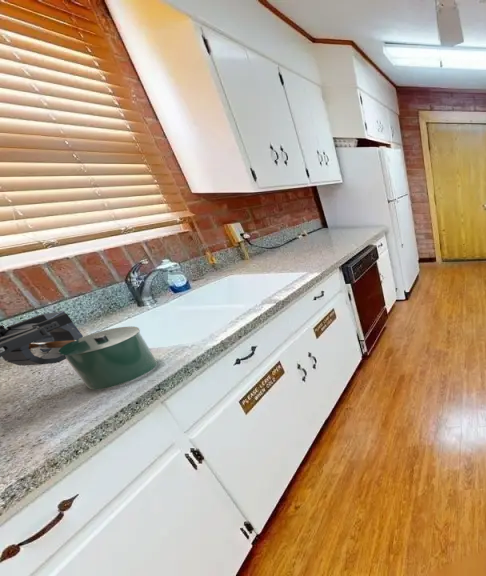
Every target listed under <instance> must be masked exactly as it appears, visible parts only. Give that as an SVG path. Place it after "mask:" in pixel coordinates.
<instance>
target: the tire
mask: <svg viewBox="0 0 486 576" xmlns="http://www.w3.org/2000/svg"><path fill="white" fill-rule="evenodd" d="M35 324H38V323H32V324H24V325H21V326H18V327H16V328H13V329H11V330H9V331H8V332H7V333H6V334H5V335H4V336H7V335H10V334H13V333H16V332H19V331H22V330H25V329H28V328H31V327H32V325H35ZM49 333H50V334H51V335H52V337H53V338H54V341H69V340H77V339H79V338H80V337H78V336H80V335H79V334H78V333H77V331H76V330H75V328H73V327H71V326H69V325H64V326H61V327H59V328H56V329H54V330H52V331H49ZM4 336H3V337H4ZM60 349H61V348H52V349H51V350H50V351H48V352H47V354H44V355H42V356H36V355H35V354H34V353H33V352H32V350H29V344H27V345H25V346H22V347H20V348H18V349H15V350H13V351H10V352H9V353H7V354H5V355H3V356H1V357H2V359H3V360H4V361H5V362H7V363H10V364H13V365H16V366H20V367H21V366H22V367H25V366H39V365H41V366H42V365H50V364H51V365H53V364H57V363H61V362H62V361H65V360H67V359H66V358H65V357H64V355H61V354H60V353H59V350H60Z"/></svg>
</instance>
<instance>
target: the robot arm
mask: <svg viewBox="0 0 486 576" xmlns="http://www.w3.org/2000/svg"><path fill="white" fill-rule="evenodd" d="M71 322H73V320H72V318H71V317H70V316H69V315H68V313H66V314H61V315H59V316H56V317H54V318H51V319H48V320H47V319H46V317H45V316H44V315H42V314H38V315H35V316H33V317H30V318H28V319H25V320H22V321H20V322H16V323H14V324H10V325H8V326H6V327H4V326H3V325H4V324H1V325H0V358H1V357H2V356H3V355H5V354H7V353H9V352H10V351H13V350H15V349H18V348H20V347H22V346H25V345H27V344H30V343H32V342H35V341H37V340H39V339H42V338H45V337H47V336H49V334H48V333H47V332H49V331H52V330H54V329H56V328H59V327H61V326H64V325H66V324H69V323H71ZM32 323H38V324H35V325H32V327H31V328H28V329H25V330H22V331H19V332H16V333H13V334H10V335H7V336H4V335H5V334H6V333H7V332H8V331H9V330H11V329H13V328H16V327H18V326H21V325H24V324H32ZM3 336H4V337H3Z"/></svg>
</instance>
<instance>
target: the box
mask: <svg viewBox="0 0 486 576" xmlns="http://www.w3.org/2000/svg"><path fill="white" fill-rule="evenodd" d="M61 314H67V313H66V312H65V310H59V311H53V312H48V313H43V314H41V315H44V316H45V317H46V319H47V320H48V319H51V318H54V317H56V316H59V315H61ZM66 325H69V326H71V327H73V328H75V330H76V331H77V333H78V334H79V335H80V336H78V337H80V338H82V337H84V335H83V334H82V333H81V331H80V330H79V329H78V328H77V325H75V323H74V322H73V321H72V322H71V323H69V324H66ZM47 333H48V334H49V336H47V337H45V338H42V339H39V340H37V341H35V342H51V341H54V338H53V337H52V335H51V334H50V333H49V332H47ZM51 349H52V348H45V349H39V350H40V351H41V352H42V353H49V351H50V350H51Z"/></svg>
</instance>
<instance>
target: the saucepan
mask: <svg viewBox="0 0 486 576" xmlns="http://www.w3.org/2000/svg"><path fill="white" fill-rule="evenodd" d="M45 348H61V349H60V350H59V353H60V354H61V355H64V357H65V358H66V359H65V360H66V361H67V362H68V363H69V365H70V366H71V367H72V369H73V370H74V371H75V373H76V374H77V375H78V377H79V378H80V379H81V381H82V382H83V383H84V384H85V386H86V387H87V388H88V389H90V390H94V391H96V390H103V389H104V390H105V389H108V388H113V387H116V386H120V385H122V384H126V383H128V382H131V381H133V380H135V379H137V378H140V377H142V376H144V375H145V374H147V373H149V372H150V371H152V370H153V369H155V368H156V366H157V365H158V360H157V359H156V357H155V355H154V354H153V352H152V351H151V349H150V347H149V345H148V344H147V342H146V340H145V339H144V337H143V335H142V334H141V329H140V328H139V327H137V326H120V327H114V328H109V329H105V330H101V331H97V332H93V333H91V334H87V335H83V337H82V338H79V339H77V340H69V341H51V342H32V343H30V344H29V350H30V351H32V350H40V349H45Z"/></svg>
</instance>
